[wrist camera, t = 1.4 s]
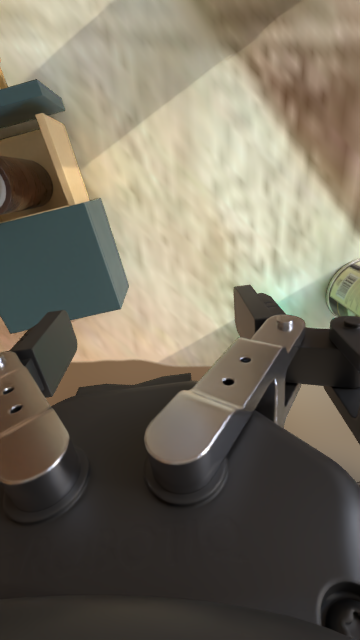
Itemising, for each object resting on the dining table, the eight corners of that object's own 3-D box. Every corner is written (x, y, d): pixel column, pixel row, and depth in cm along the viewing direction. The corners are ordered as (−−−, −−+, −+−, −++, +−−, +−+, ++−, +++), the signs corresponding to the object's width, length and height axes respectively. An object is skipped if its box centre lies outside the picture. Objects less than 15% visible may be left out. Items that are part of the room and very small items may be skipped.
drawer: (-70, 84, 31) (-127, 61, 25) (45, 50, 30) (15, 18, 24) (0, 229, 38) (-32, 238, 32) (96, 205, 37) (83, 210, 31)
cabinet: (-3, 224, 38) (-45, 234, 31) (100, 197, 37) (84, 202, 30) (37, 307, 44) (10, 334, 36) (129, 286, 43) (120, 309, 35)
